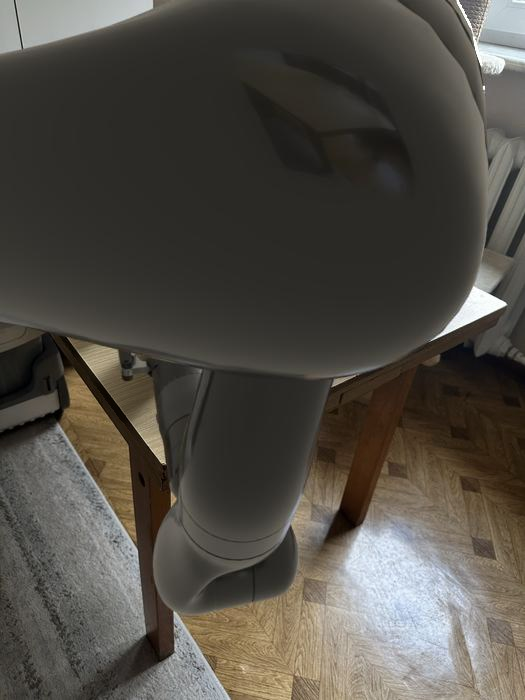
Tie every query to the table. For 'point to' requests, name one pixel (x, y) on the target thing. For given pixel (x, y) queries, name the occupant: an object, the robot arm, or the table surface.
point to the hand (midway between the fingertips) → (175, 315)
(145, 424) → the table surface
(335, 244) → the robot arm
